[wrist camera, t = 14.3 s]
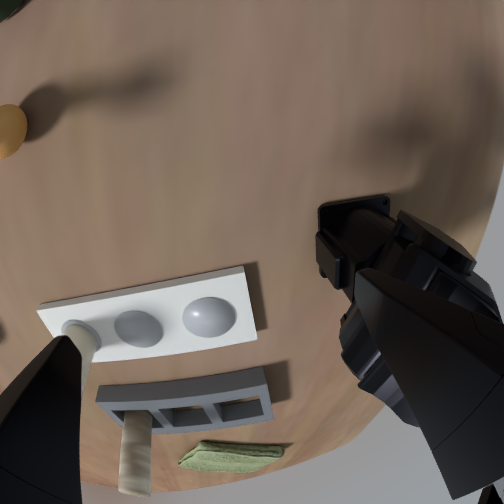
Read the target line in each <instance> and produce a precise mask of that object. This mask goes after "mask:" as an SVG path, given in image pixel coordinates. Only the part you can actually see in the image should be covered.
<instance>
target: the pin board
mask: <svg viewBox="0 0 504 504" xmlns="http://www.w3.org/2000/svg"><path fill="white" fill-rule="evenodd" d="M254 396H259V398H260V399H259V400H254V401H249V402H243V403H238V404H232V405H225V406H221V405H220V403H219V402H225V401H232V400H237V399H243V398H248V397H254ZM95 402H96V403H97V404H98V405H99V406H100V407H101V408H102V409H103V410H104V411H105V412H106V413H107V414H108V415H109V416H110V417H111V418H112V419H113V420H114V421H115V422H117V423H118V424H119V425H120V426H121V427H122V428H123V424H124V415H125V410H149V412H150V413H151V414H152V434H171V433H186V432H198V431H207V430H216V429H223V428H230V427H237V426H243V425H248V424H254V423H259V422H264V421H269V420H274V416H273V411H272V407H271V402H270V397H269V392H268V387H267V382H266V378H265V374H264V370H263V366H261V367H256V368H251V369H246V370H241V371H236V372H230V373H225V374H219V375H212V376H206V377H199V378H192V379H184V380H176V381H167V382H157V383H146V384H132V385H113V386H99V388H98V392H97V397H96V401H95ZM196 405H201V406H202V407H203V409H196V410H186V411H176V412H174V411H173V410H172V409H171V408H177V407H187V406H196Z"/></svg>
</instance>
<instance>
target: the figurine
mask: <svg viewBox="0 0 504 504" xmlns="http://www.w3.org/2000/svg"><path fill="white" fill-rule="evenodd" d="M26 132H27V119H26V116H25V114H24V112H23V111H22V109H21V108H19V107H18V106H16V105H12V104H6V105H2V106H0V159H2V158H6V157H9V156H10V155H12V154H13V153H15V152H16V151H17V150H18V149H19V147H20V146H21V145H22V143H23V141H24V139H25V136H26Z"/></svg>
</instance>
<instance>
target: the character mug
mask: <svg viewBox="0 0 504 504" xmlns="http://www.w3.org/2000/svg"><path fill="white" fill-rule="evenodd" d="M22 1H23V0H0V22H2V21H3V20H5V19H6V18H7V17H9V16H10V15H11V14H12V13H13V12H14V10H15V9H16V8H17V7H18V6H19V5H20V4H21V3H22Z"/></svg>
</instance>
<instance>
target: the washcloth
mask: <svg viewBox="0 0 504 504" xmlns="http://www.w3.org/2000/svg"><path fill="white" fill-rule="evenodd" d="M284 453H285V449H284V448H283V447H281V446H274V445H273V446H270V445H238V444H237V445H235V444H223V443H222V444H221V443H220V444H219V443H212V442H203V441H200V442H199V444H198V445H197V446H196V447H195V448H194V449H192V450H191V451H189V452H188V453H187V454H186V455H185V456H184V457H183V458H182V459H181V460H179V462H178V465H180V466H182V467H184V468H188V469H193V470H197V471H213V472H214V471H215V472H234V473H250V472H254V471H257V470H259V469H261V468H262V467H264V466H266V465H267V464H269V463H272V462H274V461H276V460H278V459H280V458H281V457H282V456H283V455H284Z"/></svg>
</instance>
